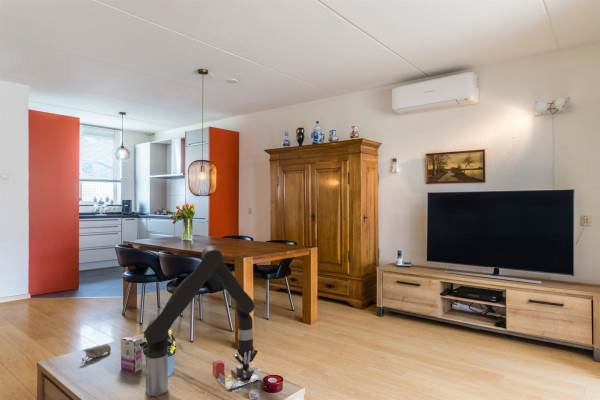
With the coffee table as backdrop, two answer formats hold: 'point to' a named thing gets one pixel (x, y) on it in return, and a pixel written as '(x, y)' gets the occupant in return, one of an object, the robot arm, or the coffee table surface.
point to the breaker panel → (232, 379)
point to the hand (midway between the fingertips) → (245, 370)
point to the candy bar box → (131, 354)
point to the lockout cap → (218, 368)
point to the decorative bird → (97, 351)
